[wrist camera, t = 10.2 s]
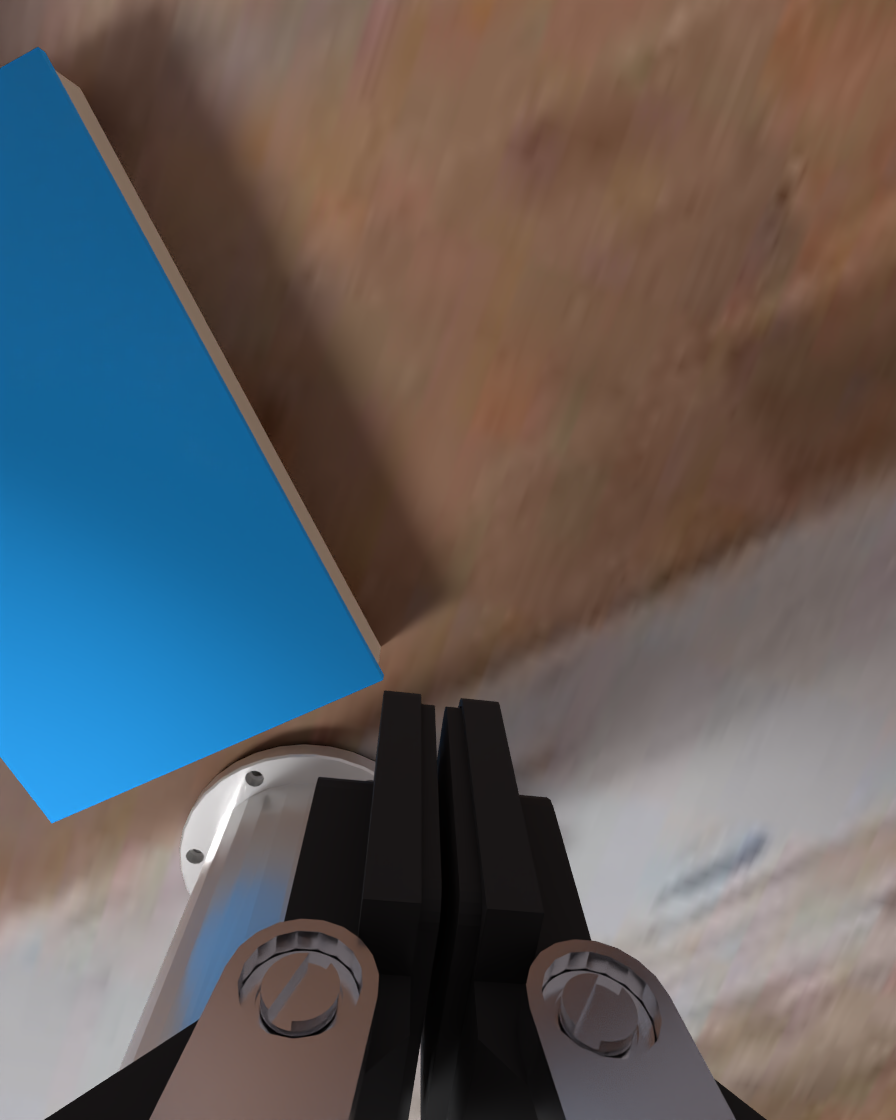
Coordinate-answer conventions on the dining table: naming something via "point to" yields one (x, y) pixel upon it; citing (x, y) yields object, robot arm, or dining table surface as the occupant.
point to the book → (135, 492)
